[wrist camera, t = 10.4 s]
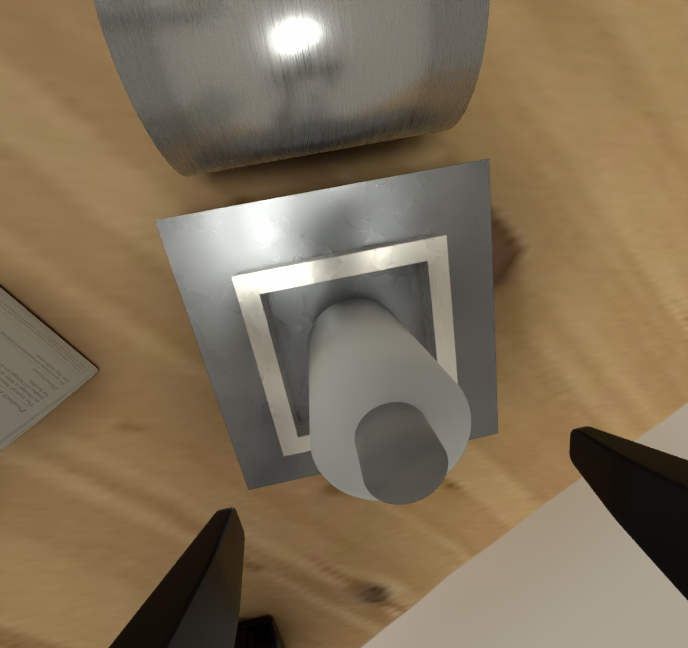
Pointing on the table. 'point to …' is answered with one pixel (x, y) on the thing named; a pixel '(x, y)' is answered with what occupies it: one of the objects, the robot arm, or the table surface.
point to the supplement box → (33, 370)
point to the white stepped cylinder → (380, 406)
